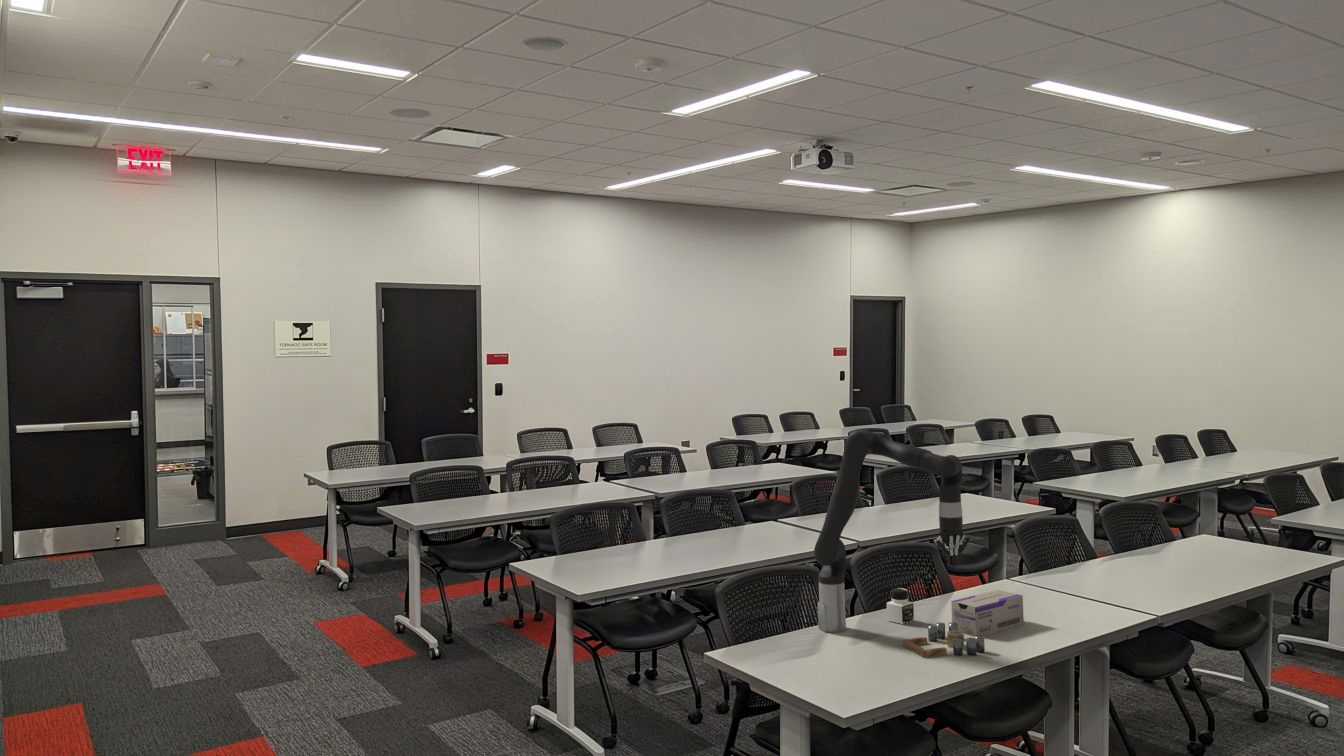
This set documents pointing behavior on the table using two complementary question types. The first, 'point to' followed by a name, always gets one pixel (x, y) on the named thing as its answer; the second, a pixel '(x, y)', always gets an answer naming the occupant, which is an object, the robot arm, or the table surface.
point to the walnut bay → (914, 647)
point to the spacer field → (956, 639)
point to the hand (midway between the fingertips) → (952, 566)
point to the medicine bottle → (900, 607)
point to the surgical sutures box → (988, 612)
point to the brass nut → (954, 635)
